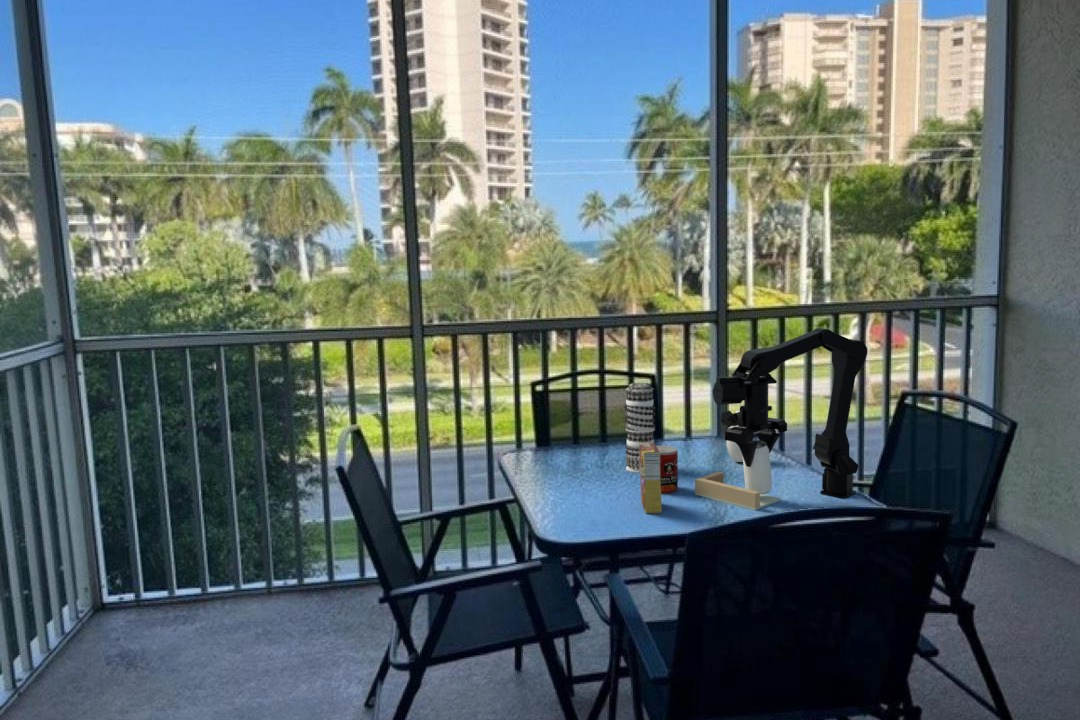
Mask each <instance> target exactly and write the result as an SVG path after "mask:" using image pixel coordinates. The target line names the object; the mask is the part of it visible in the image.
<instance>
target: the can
mask: <svg viewBox="0 0 1080 720" xmlns="http://www.w3.org/2000/svg"><path fill="white" fill-rule="evenodd" d="M757 441H758V443H757V446H756V450H755V454H754V458H753V462H752V465H751V467H747V466H746V464H745V461H744V458H743V463H742V466H743V474H744V475H743V476H744V486H745V487H744V488H745V489H749V490H753V491H757V492H760V494H765V495H766V494H768V493H770V492H771V491H772V490H773V481H772V468H771V458H770V457H771V456H770V454H769V449H768V447H767V443H766V442H764V441H759V440H757ZM742 456H743V455H742Z"/></svg>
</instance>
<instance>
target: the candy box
mask: <svg viewBox="0 0 1080 720" xmlns="http://www.w3.org/2000/svg"><path fill="white" fill-rule="evenodd" d="M656 446H657V445H656V443H655V442H654V443H645V444H639V450H640V473H639V474H640V476H639V477H640V500H641V504H642V506H643V509H644V513H645V514H646V513H649V514H661V513H662V493H661V467H660V451H659V450H658V448H657V447H656Z"/></svg>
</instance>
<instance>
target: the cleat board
mask: <svg viewBox="0 0 1080 720" xmlns="http://www.w3.org/2000/svg"><path fill="white" fill-rule="evenodd" d="M724 474H725V473H724V472H721V471H717V472H714V473H711V474H707V475H705V476H702V477H698V478H695V479H694V495H695V496H698V495H699V496H698V497H701V496H702V498H705V497H706V498H707V499H709V498H710V500H713V501H717V502H720V503H725V504H729V505H732V506H737V507H740V508H744V509H748V510H752V511H758V510H760V509H762V508H765V507H768V506H770V505H772V504H775V503H776V504H777V503H778V502H781V501H782V500H781V499H782V498H781V497H777V496H773V495H769V494H766V493H765V494H760V492H757V491H753V490H749V489H746V488H745V487H739V486H736V485H731V484H727V483H725V482H724V481H725V479H724Z"/></svg>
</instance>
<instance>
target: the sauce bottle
mask: <svg viewBox="0 0 1080 720" xmlns="http://www.w3.org/2000/svg"><path fill="white" fill-rule="evenodd" d="M741 406H742V402H741V403H739V407H738V408H739V409H738V410H735V413H737V412H740V407H741ZM732 427H738V425H737V426H731V427H730V428H732ZM741 428H745V427H741ZM727 429H729V428H727ZM753 440H754V441H755V438H754V439H753ZM726 449H727V452H728V454H729V456H730V458H731V459H733V461H734V462H736V463H738V462H743V456H742V453H741V450H740V448H739V446H738V445H737V444H736V443H735V442H732V441H727V440H726Z"/></svg>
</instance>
